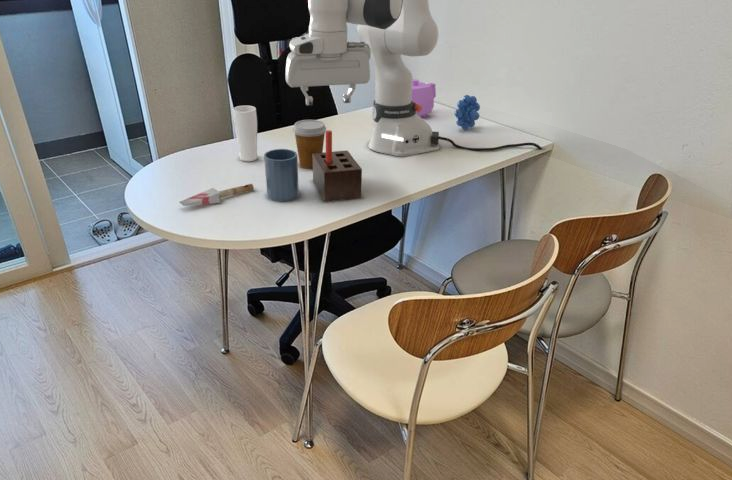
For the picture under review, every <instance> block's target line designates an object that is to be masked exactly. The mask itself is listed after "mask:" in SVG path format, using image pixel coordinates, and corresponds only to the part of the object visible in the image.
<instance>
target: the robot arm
mask: <svg viewBox="0 0 732 480" xmlns="http://www.w3.org/2000/svg"><path fill="white" fill-rule="evenodd" d="M307 3H308V4H307V5H308V6H307V7H308V12H309V16H310V17H309V18H310V19H309V25H308V33H305V34H303V35H301V36H299V37H295V38H293V39H291V40H290V41H289V44H288V45H289V49H290V52H289V53H288V54H287V57H286V61H285V73H284V75H285V82H286V84H287V85H288V87H290V88H300V90H301V92H302V94H303V95H304V97H305V105H306V106H313V105H314V102H313V101H314V98H313V96H311V95H309V94H308V93H307V92H309V87H323V86H343V85H347V87H348V89H347V92H346V93H344V94H342V96H343V97H342V98H343V99H342V102H343V104H351V102H352V99H351V98H352V96H353V94H354V92H355V90H356V85H365V84H366V85H367V84H368V83H369V82H370V80H371V66H370V65H371V64H370V60H371V63H372V67H373V71H374V100H373V106H372V120H373V122H372V128H371V134H370V137H369V142H368V143H367V147H368V149H370V150H371V151H374V152H377V153H380V154H386V155H391V156H395V157H406V156H411V155H416V154H423V153H428V152H433V151H438V150H440V143H439V141H440V140H441V141H444V142H445V141H446V142H449V143H450V144H451V145H452V146H453V147H454V148H456V149H460V150H466V151H473V152H490V151H491V152H492V151H498V150H502V149H508V148H517V147H525V146H532V147H535V148H537V149H538V150H540V151H542V150H543V148H542V147H541V146H540V145H539V144H538V143H535V142H522V143H512V144H510V143H509V144H505V145H500V146H495V147H466V146H461V145H459V144H456V142H454V140H452V139H451V138H448V137H444V136H440V132H439V131H434V130H432V127H431V125H430V124H429V122H427V121H426V120H425V119H424V118H423V117H421V116H420V115H417V114H416V111H417V112H421V111H420V110H422V107H421V106H420V105H419V104H416V103H414V102H413V101H411V97H412V83H413V79H414V77H413V74H412V71H410V69H409V68H408V67H407V66H406V65H405V63H404V61H403V58H402V56H405V57H424V56H425V57H426V56H428V55H429V54H431V53H432V52H433V51H434V49H435V48H436V46H437V44H438V40H439V28H438V25H437V23H436V21H435V20H434V18H433V16H432V14H431V10H430V5H429V0H307ZM348 24H352V25H357V37H358V40H359V41H357V42H356V41H348Z"/></svg>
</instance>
